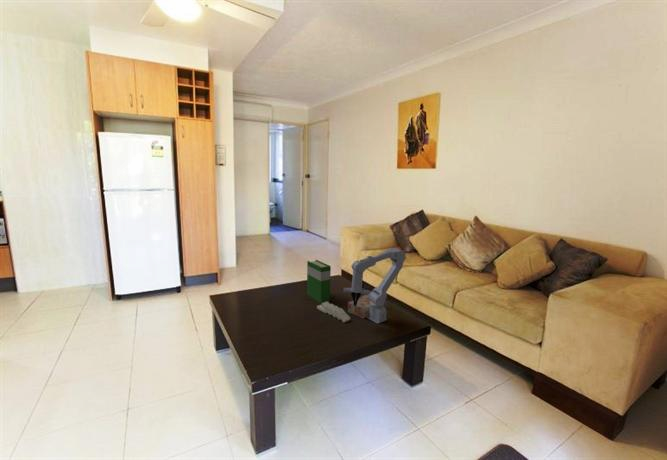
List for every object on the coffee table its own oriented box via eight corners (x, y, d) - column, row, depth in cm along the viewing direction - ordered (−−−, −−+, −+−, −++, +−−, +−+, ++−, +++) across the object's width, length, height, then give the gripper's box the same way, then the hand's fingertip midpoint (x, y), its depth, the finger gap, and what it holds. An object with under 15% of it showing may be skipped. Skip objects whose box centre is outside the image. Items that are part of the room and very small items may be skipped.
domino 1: (332, 308, 195) (322, 304, 202) (326, 311, 192) (317, 306, 198) (332, 311, 195) (322, 306, 202) (326, 313, 192) (316, 308, 199)
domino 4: (345, 315, 186) (336, 305, 192) (339, 318, 183) (330, 307, 188) (344, 317, 187) (335, 307, 192) (339, 320, 184) (329, 309, 189)
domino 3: (341, 313, 189) (332, 303, 194) (335, 315, 186) (326, 305, 191) (340, 315, 190) (331, 305, 195) (334, 317, 187) (325, 307, 192)
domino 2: (336, 311, 192) (327, 301, 197) (330, 313, 189) (321, 303, 194) (335, 312, 193) (326, 303, 198) (329, 315, 190) (320, 305, 195)
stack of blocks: (367, 293, 209) (383, 298, 201) (367, 302, 210) (383, 307, 202) (347, 302, 193) (363, 308, 185) (347, 312, 194) (363, 318, 186)
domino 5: (350, 318, 183) (341, 307, 188) (344, 320, 180) (335, 309, 185) (349, 320, 184) (340, 309, 189) (343, 322, 181) (334, 311, 186)
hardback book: (307, 294, 221) (307, 261, 217) (316, 292, 226) (316, 259, 221) (320, 303, 207) (321, 267, 203) (329, 300, 211) (330, 266, 207)
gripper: (370, 281, 181) (368, 304, 183) (345, 278, 182) (343, 301, 184) (370, 285, 174) (367, 308, 176) (343, 282, 175) (341, 305, 177)
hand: (355, 305), depth 180 cm, fingers closed
